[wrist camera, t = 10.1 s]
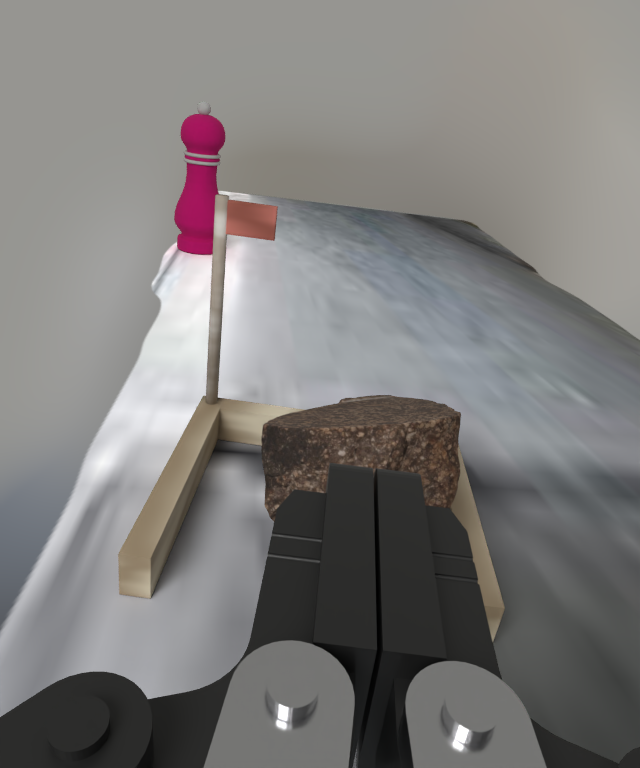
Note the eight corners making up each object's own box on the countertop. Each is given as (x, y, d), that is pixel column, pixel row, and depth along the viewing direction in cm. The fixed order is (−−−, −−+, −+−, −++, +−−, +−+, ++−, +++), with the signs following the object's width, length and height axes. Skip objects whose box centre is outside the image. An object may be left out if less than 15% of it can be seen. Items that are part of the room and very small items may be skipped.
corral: (447, 460, 44) (505, 232, 36) (491, 646, 29) (604, 323, 22) (202, 426, 44) (212, 192, 37) (119, 594, 29) (110, 254, 22)
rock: (332, 403, 39) (479, 357, 34) (378, 556, 38) (534, 531, 34) (211, 435, 28) (401, 374, 23) (273, 649, 28) (481, 632, 23)
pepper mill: (197, 258, 84) (203, 102, 76) (163, 246, 88) (165, 96, 79) (233, 252, 90) (242, 106, 81) (200, 241, 94) (205, 100, 85)
